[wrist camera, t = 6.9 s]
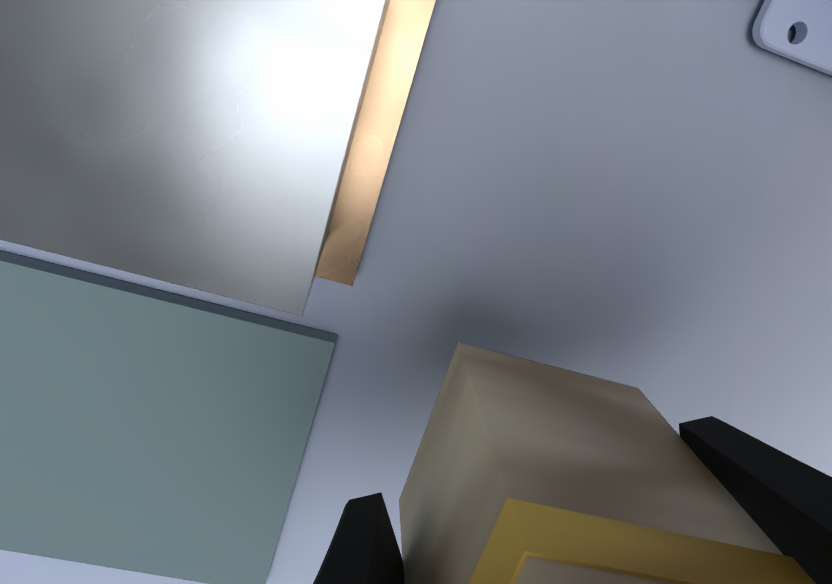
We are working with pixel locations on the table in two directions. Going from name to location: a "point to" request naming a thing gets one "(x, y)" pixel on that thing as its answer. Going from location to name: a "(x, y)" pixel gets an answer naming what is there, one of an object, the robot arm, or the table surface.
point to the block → (567, 488)
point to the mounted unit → (204, 135)
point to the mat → (148, 424)
